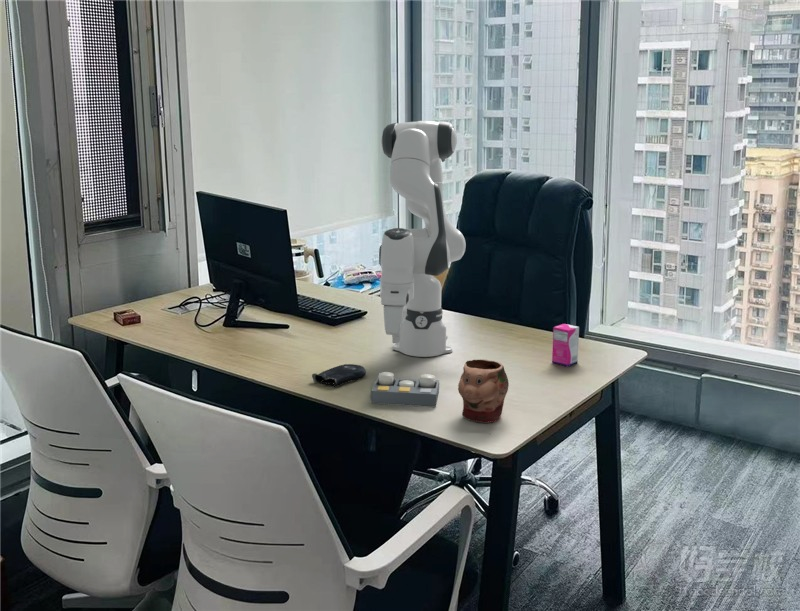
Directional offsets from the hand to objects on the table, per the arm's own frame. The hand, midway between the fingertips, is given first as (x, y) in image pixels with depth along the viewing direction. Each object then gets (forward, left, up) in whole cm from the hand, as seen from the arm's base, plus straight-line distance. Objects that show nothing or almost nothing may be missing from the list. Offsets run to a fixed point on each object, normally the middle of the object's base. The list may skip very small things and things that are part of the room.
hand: (396, 341), depth 225 cm
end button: (0, -3, -12) cm, 12 cm away
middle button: (0, +3, -14) cm, 14 cm away
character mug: (+10, +24, -15) cm, 30 cm away
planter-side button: (0, +8, -12) cm, 15 cm away
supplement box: (-36, +47, -15) cm, 62 cm away
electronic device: (-11, -17, -16) cm, 25 cm away
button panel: (+2, +3, -15) cm, 16 cm away
